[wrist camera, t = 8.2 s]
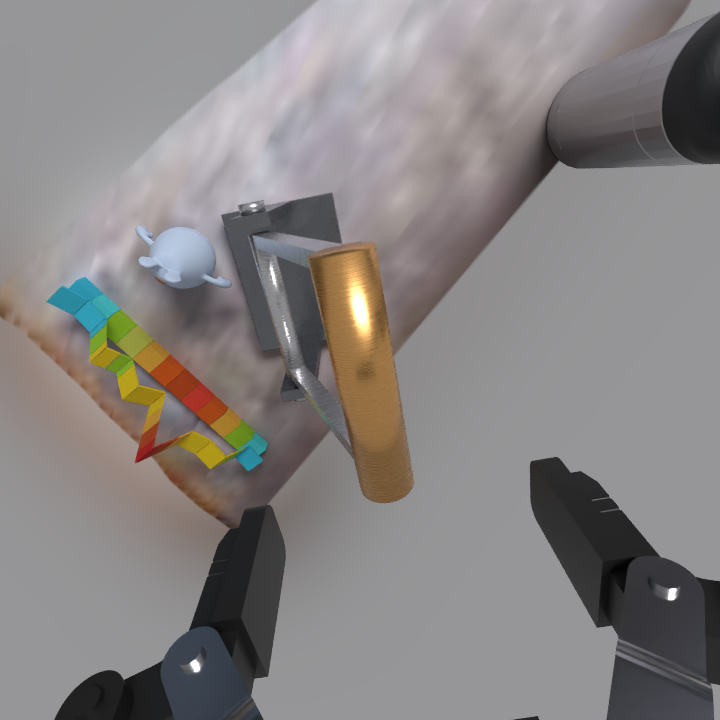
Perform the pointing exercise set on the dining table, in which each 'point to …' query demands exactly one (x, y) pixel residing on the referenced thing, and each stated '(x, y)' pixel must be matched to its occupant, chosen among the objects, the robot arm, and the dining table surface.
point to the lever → (344, 353)
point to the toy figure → (180, 258)
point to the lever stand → (285, 271)
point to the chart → (132, 339)
